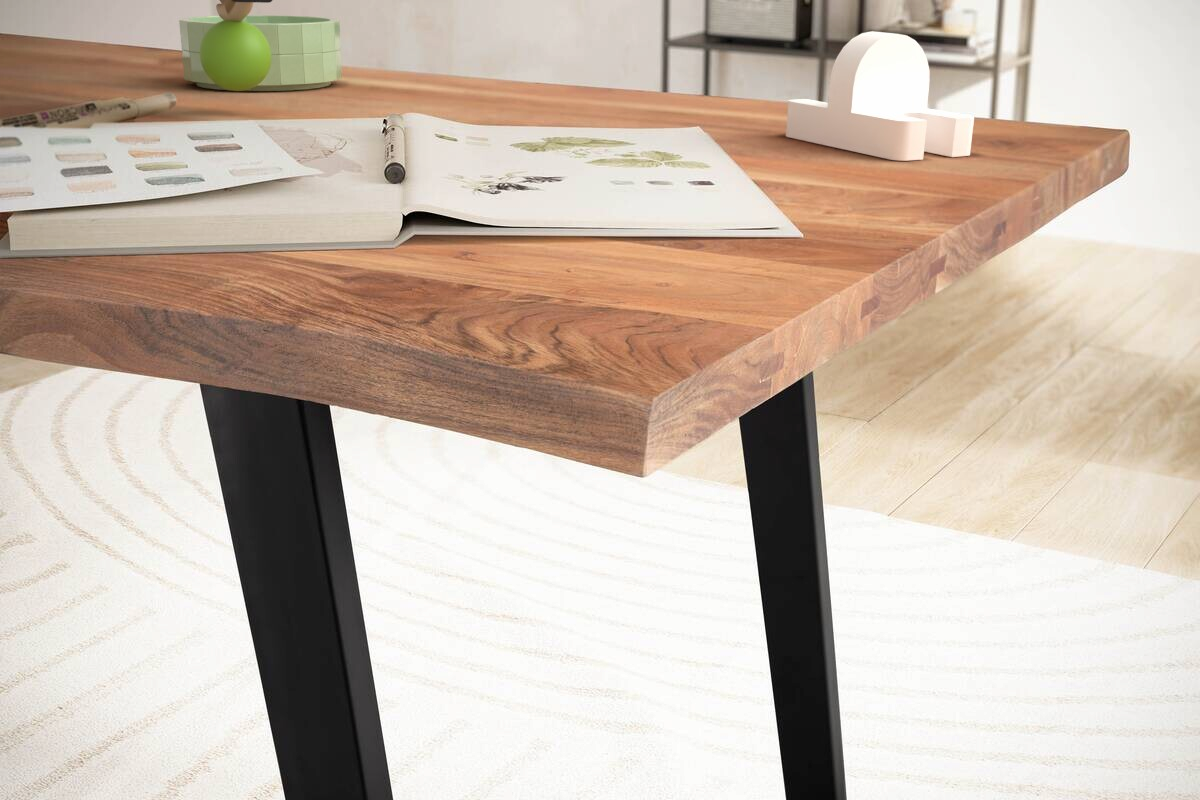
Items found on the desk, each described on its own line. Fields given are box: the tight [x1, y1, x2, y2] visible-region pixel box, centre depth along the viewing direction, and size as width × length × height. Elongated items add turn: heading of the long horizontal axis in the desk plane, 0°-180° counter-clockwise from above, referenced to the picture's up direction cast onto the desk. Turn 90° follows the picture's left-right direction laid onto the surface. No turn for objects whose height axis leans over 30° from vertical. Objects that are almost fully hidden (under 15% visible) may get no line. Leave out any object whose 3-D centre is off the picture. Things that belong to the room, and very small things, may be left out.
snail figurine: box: [200, 0, 271, 92], centre depth 99 cm, size 5×6×12 cm
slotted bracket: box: [785, 30, 975, 162], centre depth 91 cm, size 13×7×8 cm, turn 29°
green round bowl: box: [178, 14, 343, 92], centre depth 122 cm, size 15×15×6 cm
